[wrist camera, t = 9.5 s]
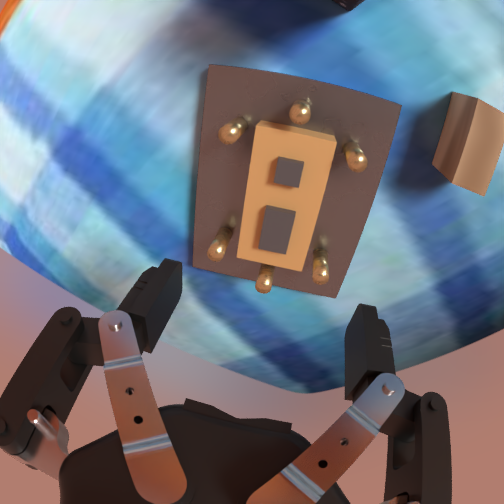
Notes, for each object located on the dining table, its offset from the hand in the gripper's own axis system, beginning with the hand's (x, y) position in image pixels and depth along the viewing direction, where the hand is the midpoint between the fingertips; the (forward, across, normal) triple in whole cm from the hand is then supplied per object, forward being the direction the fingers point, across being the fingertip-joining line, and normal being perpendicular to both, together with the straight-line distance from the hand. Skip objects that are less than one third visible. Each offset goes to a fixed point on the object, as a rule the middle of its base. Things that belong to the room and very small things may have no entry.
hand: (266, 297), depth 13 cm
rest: (+12, -12, -8) cm, 19 cm away
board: (+11, 0, 0) cm, 11 cm away
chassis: (+12, 0, 0) cm, 12 cm away
